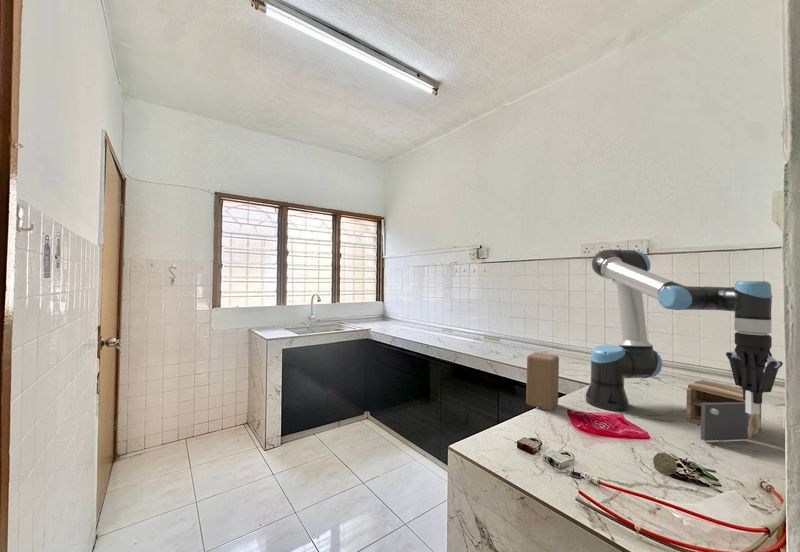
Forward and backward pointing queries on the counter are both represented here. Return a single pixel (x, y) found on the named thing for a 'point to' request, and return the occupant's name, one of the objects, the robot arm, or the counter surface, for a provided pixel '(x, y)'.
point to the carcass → (716, 401)
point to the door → (724, 421)
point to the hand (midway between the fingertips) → (752, 413)
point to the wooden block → (542, 380)
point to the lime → (665, 463)
